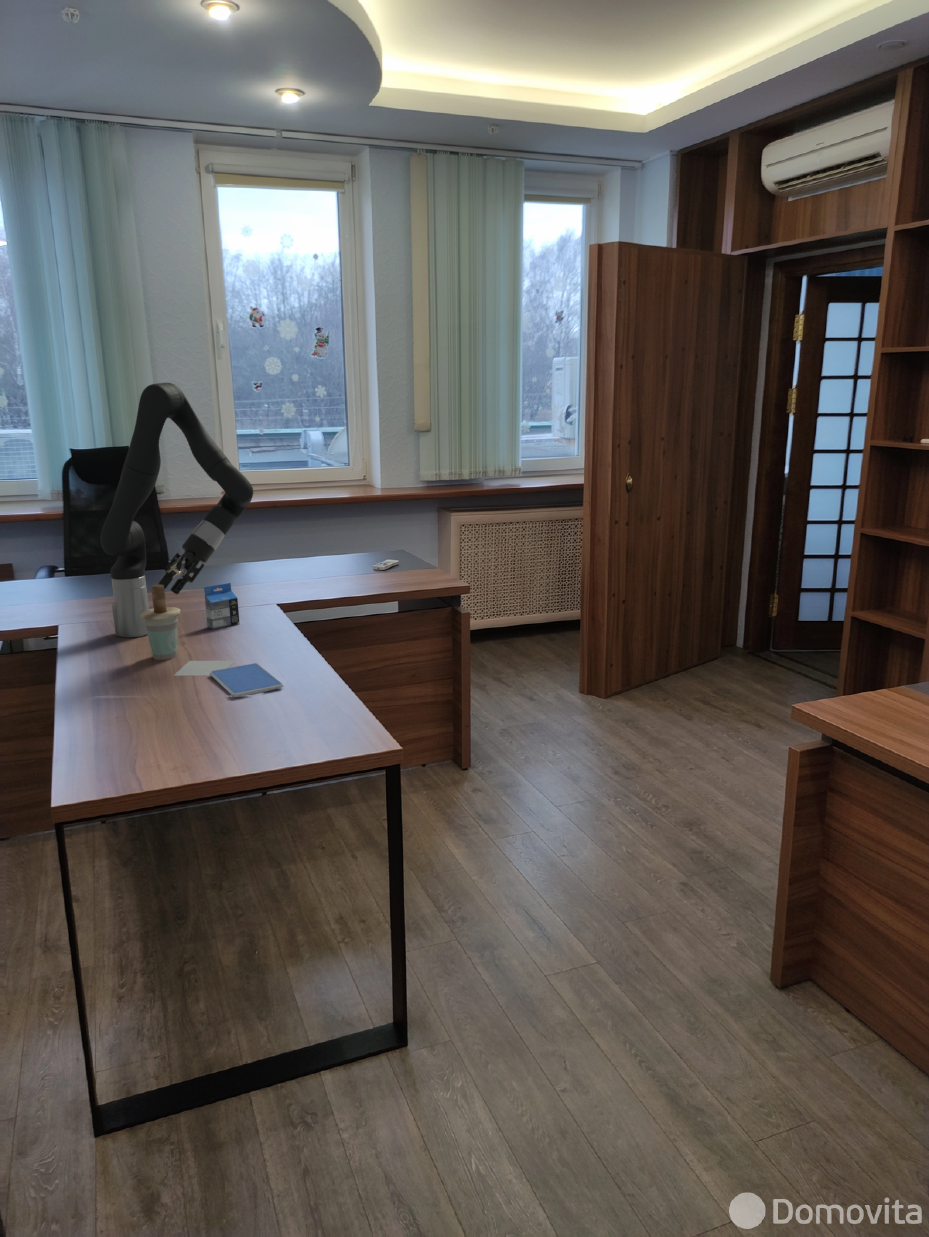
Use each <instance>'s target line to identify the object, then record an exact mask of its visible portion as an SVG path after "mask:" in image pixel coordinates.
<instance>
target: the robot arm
mask: <svg viewBox="0 0 929 1237" xmlns="http://www.w3.org/2000/svg"><path fill="white" fill-rule="evenodd" d="M167 419H170V420H171V421H172V422H173V423H174V424H175V425H176V426H177V427H178V428H179V429H180V430H181V433H182V434H183V436H184V437H185V439H186V441H187V444H188V446H189V449H190V452H191V453H192V456H193V457H194V459H195V460H196V462H197V463H198V465H199V467H201V469H202V470H204V472H205V473H206V475H207V476H208V477H209V478H210V479H211V480H212V481H214V482H216V483H217V484H218V485H219V486H220V487H221V489H222V490H223V492H224V493H223V495H222V496H221V497H220V500H219V501H218V502H217V504H216V505H214V506H212V507H211V508H210V510H209V511H208V512H207V514H206V515H205V517H204V518H203V519H202V520H201V521H200V523H198V525H196V526H195V528H194V530H192V531H191V533H190V534H189V536H188V537H187V538H186V540H185V541H184V543H183V544H182V545H181V548H182V549H183V550H184V552H183V554H180V553H179V552H176V553H175V555H174V556H173V557H172V559H171V560H170V561H169V562H168V564H167V565H166V566H165V567H164V569H163V571H165V574H164V575H163V577H162V578H161V579H160V581H159V582H158V584H157V585H164V590H166V588H167V587H168V586H169V585H170V584H171V582H172V581H173V579H174V578H176V577H177V576H179V578H177V579H176V581H175V582H174V583H173V585H172V586H171V588H170V592H172V593H173V594H174V595H179V593H180V592H181V591H182V590H183V588H184V587H185V585H186V584H189V583H190V584H191V583H193V582H194V581H195V580H196V578H197V577H198V575H199V574H200V572H201V571H202V570H203V569H204V567H205V563H207V562H208V560H209V559H210V558H211V556H212V555H213V554H214V553H215V551H216V550H217V549H218V547H219V546H220V544H221V542H222V541H223V539H224V538H225V536H226V535H227V533H228V532H229V531H230V529H231V528H232V526H233V525H234V523H235V522H236V520H237V519H238V518H239V517H240V516H241V515H242V514H243V513H244V511H245V510H246V509H247V508H248V507H249V505H250V504H251V502H252V499H253V496H254V488H253V486H252V483H251V482H250V481H249V479H248V478H247V477H246V476H245V475H244V474H243V473H242V472H241V471H240V470H239V469H238V468H236V466H234V465H233V463H232V462H231V461H230V459H229V458H228V457H227V456H226V455H225V453H224V452H223V451H222V450H221V448H220V447H219V445H217V443H216V442H215V441H214V439H213V438H212V437H211V435H210V434H209V433H208V431H207V430H206V428H205V427H204V425H203V423H202V422H201V420H200V419H199V417H198V415H197V414H196V412H195V411H194V409H193V407H192V405H191V403H190V402H189V400H188V398H187V396H186V395H185V393H184V392H183V390H182V389H181V388H180V387H179V386H178V385H176V384H174V383H172V382H159V383H152V384H149V385H147V386H146V387H145V388H144V389H143V391H142V392H141V394H140V397H139V402H138V407H137V414H136V419H135V425H134V430H133V434H132V437H131V440H130V444H129V447H128V450H127V454H126V457H125V460H124V462H123V467H122V470H121V474H120V479H119V481H118V484H117V487H116V491H115V494H114V498H113V501H112V503H111V504H112V505H111V507H110V508H109V509H110V510H109V512H108V514H107V516H106V519H105V521H104V524H103V526H102V528H101V532H100V536H99V538H100V539H99V540H100V546H101V548H102V550H103V551H104V552H105V553H106V554H107V555H108V556H109V555H110V556H113V557H114V556H115V557H116V556H117V560H116V561H115V563H114V564H113V565H112V566H111V568H110V578H111V586H112V593H113V601H114V603H112V604H111V609H112V616H113V625H114V626H113V627H114V633H115V634H114V635H115V637H121V638H137V637H143V636H145V635H147V636H148V633H147V628H146V625H145V624H144V623H145V622H144V621H145V619H143V618H141V615H140V613H141V612H143V611H145V610H148V609H150V606H149V597H148V590H147V588H148V587H147V581H146V573H145V572H146V570H145V569H146V567H147V551H146V548H147V547H146V539H145V533H144V531H143V528H142V527H141V525H140V524H139V523H138V522H137V521H135V520H134V519H135V517H136V515H137V513H138V511H139V510H140V508H141V507H142V506H143V504H144V503H145V501H146V500H147V499H148V498H149V496H150V495H151V494H152V492H153V491H154V488H155V486H156V484H157V480H158V477H159V474H160V469H161V465H162V464H161V463H162V460H161V459H162V458H161V452H160V440H161V439H160V438H161V435H162V431H163V428H164V425H165V423H166V421H167Z"/></svg>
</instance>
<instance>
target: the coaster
mask: <svg viewBox="0 0 929 1237" xmlns="http://www.w3.org/2000/svg"><path fill="white" fill-rule="evenodd" d="M234 662H235V660H189V661H187V663H186V664H185V665H183V666H182V667H181V668H180V669H179V670H177V672H176V673H174V674H173V677H197V676H198V677H201V676H202V677H206V676H207V677H209V676H210V677H212V676H211V675H210V672H211V671H215V670H221V669H226V668H230V667H231V665H233V663H234Z"/></svg>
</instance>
